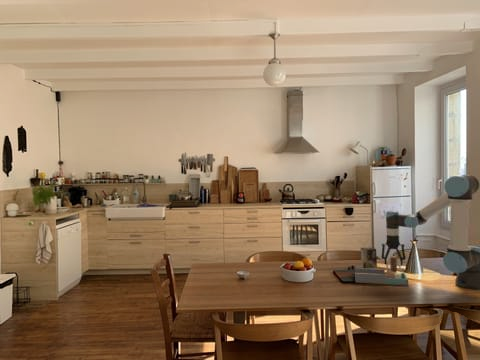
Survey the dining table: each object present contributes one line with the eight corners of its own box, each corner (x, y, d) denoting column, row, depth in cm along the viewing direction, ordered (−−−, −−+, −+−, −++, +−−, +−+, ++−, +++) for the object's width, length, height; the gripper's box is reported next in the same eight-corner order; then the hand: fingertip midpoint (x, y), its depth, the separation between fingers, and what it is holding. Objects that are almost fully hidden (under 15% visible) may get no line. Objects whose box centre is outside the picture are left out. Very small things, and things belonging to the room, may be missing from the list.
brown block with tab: (395, 273, 239) (395, 255, 239) (397, 277, 231) (396, 258, 231) (390, 273, 240) (389, 255, 240) (391, 276, 232) (391, 258, 232)
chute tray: (405, 278, 227) (405, 273, 227) (408, 285, 214) (408, 279, 214) (384, 277, 231) (384, 272, 231) (386, 284, 217) (386, 278, 217)
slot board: (384, 277, 231) (384, 269, 231) (386, 284, 217) (386, 275, 217) (355, 276, 236) (354, 267, 236) (355, 282, 223) (355, 273, 223)
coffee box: (374, 270, 248) (374, 247, 247) (377, 273, 241) (376, 249, 241) (361, 270, 249) (360, 247, 248) (363, 273, 242) (362, 249, 242)
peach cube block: (391, 277, 225) (393, 271, 224) (392, 279, 221) (394, 273, 220) (385, 275, 226) (387, 269, 225) (385, 276, 222) (388, 270, 222)
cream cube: (393, 279, 224) (400, 279, 223) (394, 280, 221) (401, 281, 219) (393, 272, 224) (400, 273, 223) (394, 274, 221) (401, 274, 219)
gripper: (408, 234, 236) (409, 269, 236) (376, 233, 242) (377, 267, 242) (410, 236, 229) (411, 272, 229) (376, 235, 235) (377, 270, 235)
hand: (393, 269), depth 236 cm, fingers open, 7 cm apart
